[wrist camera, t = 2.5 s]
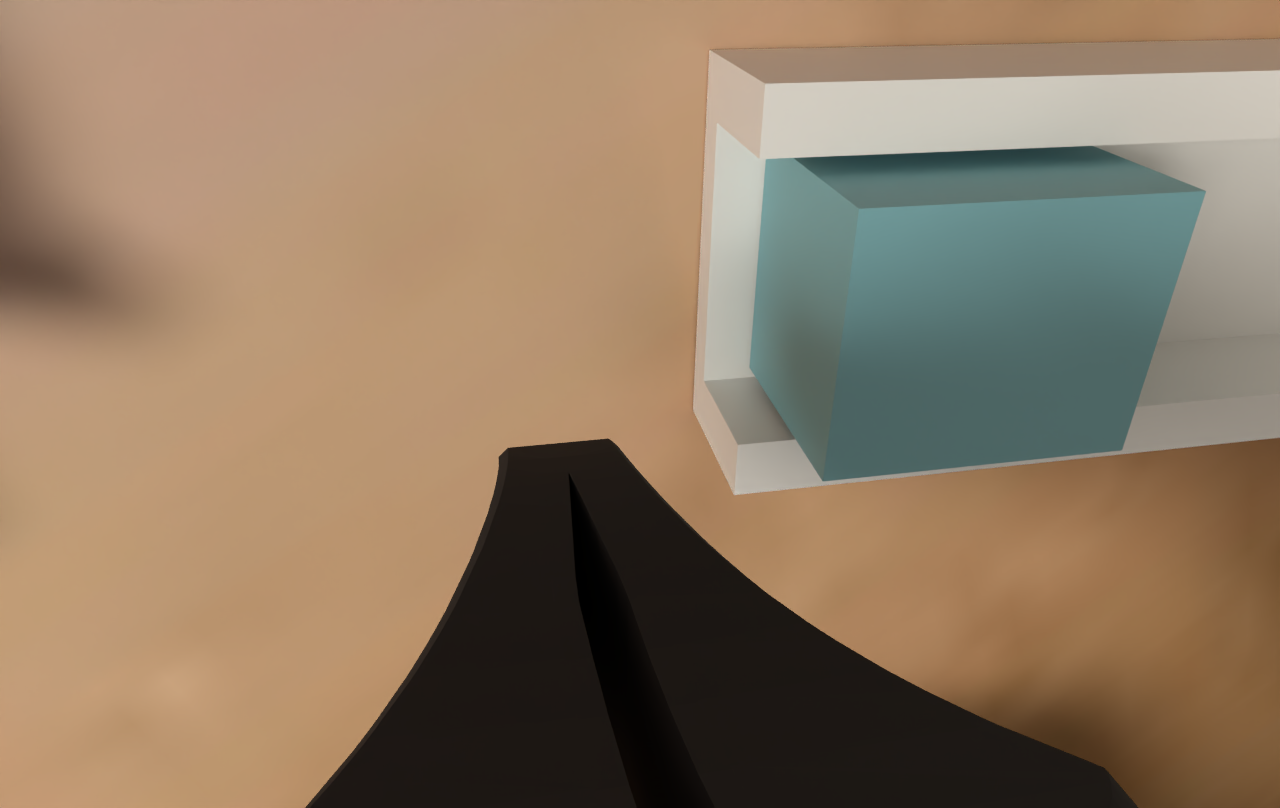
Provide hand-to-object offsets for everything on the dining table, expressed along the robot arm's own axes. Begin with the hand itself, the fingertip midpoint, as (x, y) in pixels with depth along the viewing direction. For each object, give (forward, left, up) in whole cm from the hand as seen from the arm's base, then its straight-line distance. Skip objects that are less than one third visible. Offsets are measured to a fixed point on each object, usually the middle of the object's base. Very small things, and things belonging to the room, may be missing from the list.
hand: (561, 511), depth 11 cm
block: (0, -8, -8) cm, 11 cm away
